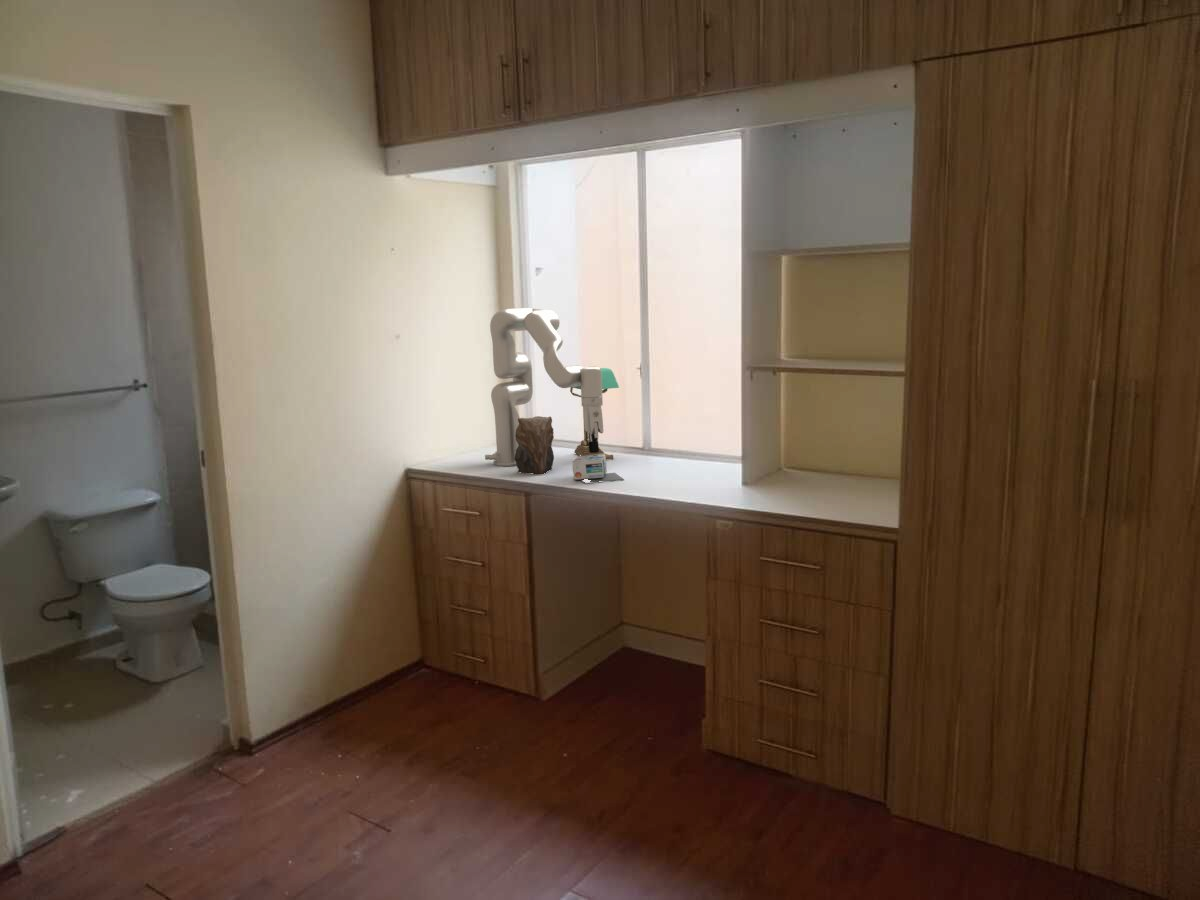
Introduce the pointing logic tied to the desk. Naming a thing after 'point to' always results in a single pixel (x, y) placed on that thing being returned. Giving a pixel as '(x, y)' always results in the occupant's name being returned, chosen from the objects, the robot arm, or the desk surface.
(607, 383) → the banker's lamp
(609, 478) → the mat
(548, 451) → the owl
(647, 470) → the desk surface
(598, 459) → the light bulb box
